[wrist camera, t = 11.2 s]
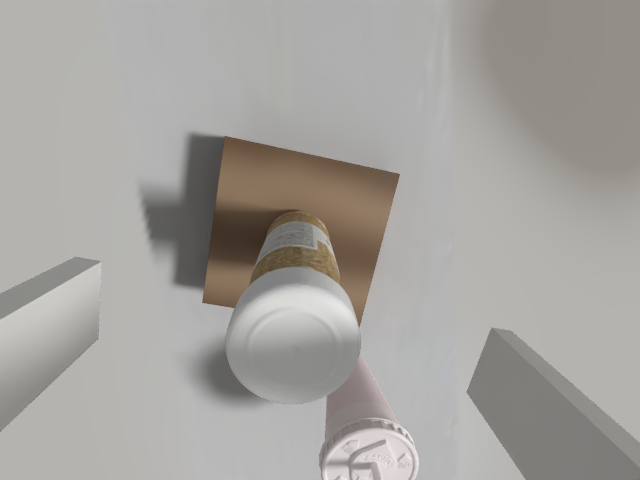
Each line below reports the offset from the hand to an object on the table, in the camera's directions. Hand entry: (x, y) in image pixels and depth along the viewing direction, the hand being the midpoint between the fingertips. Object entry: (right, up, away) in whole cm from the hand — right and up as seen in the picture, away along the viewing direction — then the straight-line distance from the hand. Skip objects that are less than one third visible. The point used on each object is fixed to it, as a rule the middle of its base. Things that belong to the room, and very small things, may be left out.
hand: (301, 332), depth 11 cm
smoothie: (+3, -9, +19) cm, 22 cm away
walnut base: (-1, +4, +15) cm, 16 cm away
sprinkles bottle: (-1, +3, +13) cm, 13 cm away
